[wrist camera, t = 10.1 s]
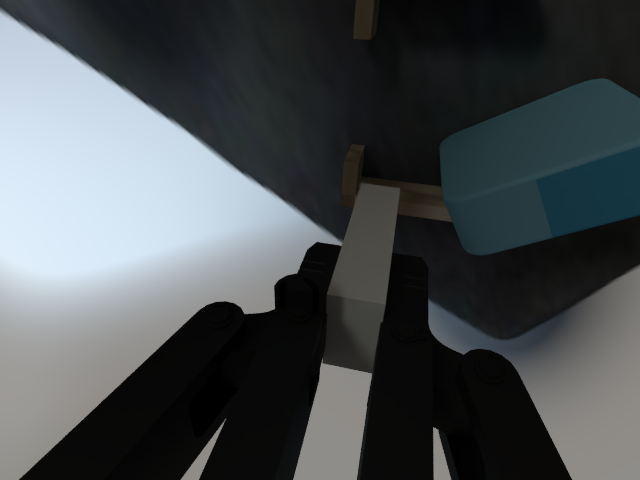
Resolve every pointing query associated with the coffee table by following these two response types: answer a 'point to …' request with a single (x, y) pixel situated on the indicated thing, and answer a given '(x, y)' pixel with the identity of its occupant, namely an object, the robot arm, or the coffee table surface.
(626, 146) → the data package
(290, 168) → the coffee table surface
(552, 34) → the coffee table surface
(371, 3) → the shelf bay
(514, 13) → the coffee table surface
